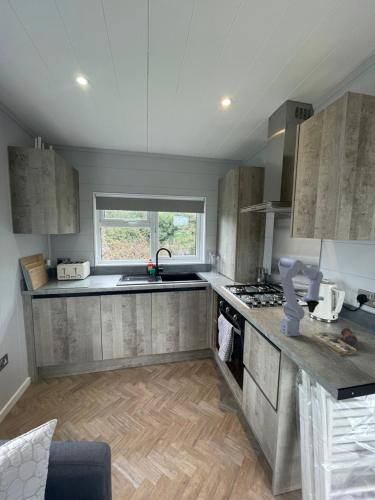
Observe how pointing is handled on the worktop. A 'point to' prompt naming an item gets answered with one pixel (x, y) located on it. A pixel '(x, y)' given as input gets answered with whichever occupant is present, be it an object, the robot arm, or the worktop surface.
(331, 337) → the button middle
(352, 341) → the supplement bottle
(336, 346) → the button board
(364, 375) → the worktop surface
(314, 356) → the worktop surface
